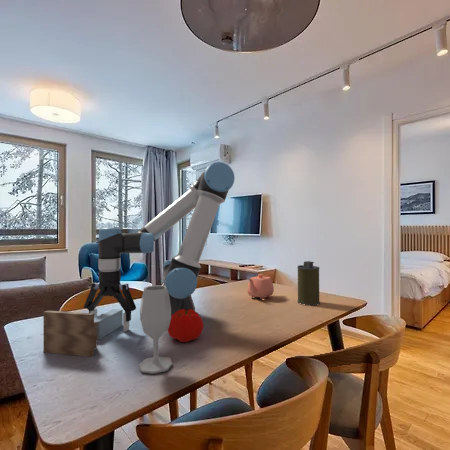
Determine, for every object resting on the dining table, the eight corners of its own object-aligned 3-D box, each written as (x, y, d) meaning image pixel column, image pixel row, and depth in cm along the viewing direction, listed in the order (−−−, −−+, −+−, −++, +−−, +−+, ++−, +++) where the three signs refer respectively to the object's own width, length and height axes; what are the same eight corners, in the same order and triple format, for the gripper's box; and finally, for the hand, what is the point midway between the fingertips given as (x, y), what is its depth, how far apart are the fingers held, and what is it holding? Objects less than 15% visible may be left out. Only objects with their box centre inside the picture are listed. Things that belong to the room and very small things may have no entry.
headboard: (103, 348, 89) (103, 309, 89) (90, 356, 83) (90, 314, 84) (58, 344, 92) (58, 306, 92) (43, 352, 87) (43, 311, 87)
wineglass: (142, 360, 81) (142, 284, 81) (174, 358, 82) (173, 284, 82) (135, 375, 73) (135, 291, 73) (170, 374, 73) (170, 290, 73)
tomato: (170, 332, 102) (170, 307, 102) (205, 333, 102) (204, 307, 102) (163, 345, 91) (163, 316, 92) (201, 345, 91) (201, 316, 91)
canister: (324, 303, 140) (324, 261, 140) (310, 306, 134) (309, 263, 134) (306, 298, 149) (306, 259, 149) (292, 302, 143) (292, 261, 143)
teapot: (260, 292, 164) (260, 271, 164) (279, 295, 156) (279, 273, 156) (239, 299, 148) (239, 276, 148) (258, 303, 141) (258, 278, 141)
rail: (122, 325, 110) (122, 309, 110) (97, 340, 96) (97, 322, 96) (112, 324, 111) (112, 308, 111) (86, 339, 97) (86, 321, 97)
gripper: (145, 269, 107) (145, 327, 107) (87, 267, 112) (87, 323, 112) (135, 272, 100) (135, 335, 100) (73, 270, 105) (73, 330, 105)
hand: (109, 329), depth 106 cm, fingers open, 12 cm apart
